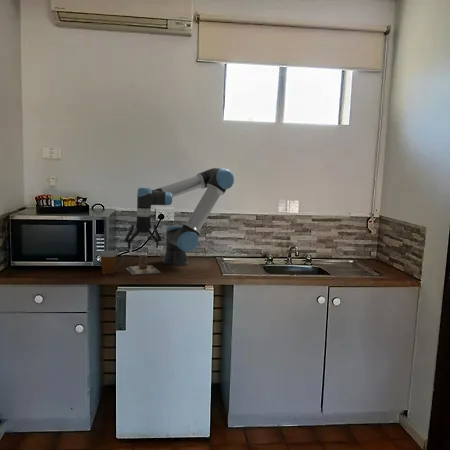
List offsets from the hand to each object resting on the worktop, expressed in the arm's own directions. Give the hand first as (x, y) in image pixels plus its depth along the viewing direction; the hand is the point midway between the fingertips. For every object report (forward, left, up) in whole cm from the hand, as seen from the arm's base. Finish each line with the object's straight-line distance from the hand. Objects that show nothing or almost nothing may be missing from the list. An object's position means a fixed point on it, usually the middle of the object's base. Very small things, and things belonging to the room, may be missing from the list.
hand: (142, 254), depth 260 cm
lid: (0, 0, -9) cm, 9 cm away
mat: (0, 0, -10) cm, 10 cm away
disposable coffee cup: (+19, -1, -10) cm, 21 cm away
